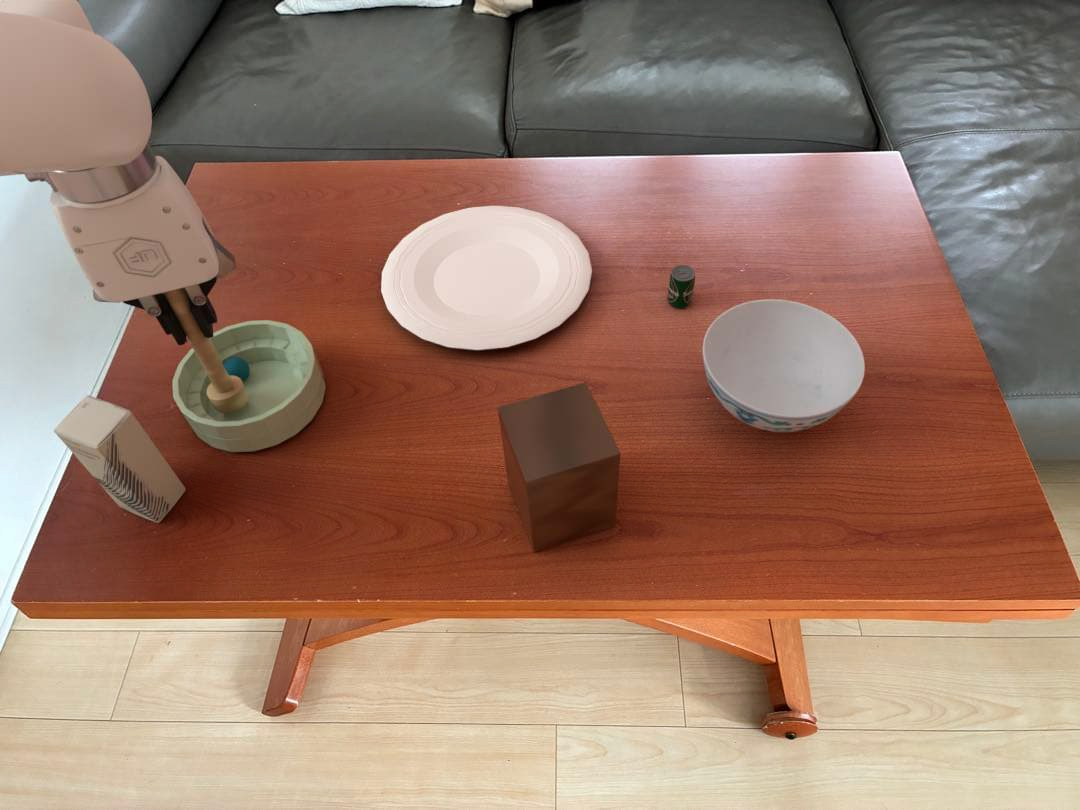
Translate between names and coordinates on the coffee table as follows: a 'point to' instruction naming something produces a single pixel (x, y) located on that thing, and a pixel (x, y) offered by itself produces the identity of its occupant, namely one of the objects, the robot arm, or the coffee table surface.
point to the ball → (237, 368)
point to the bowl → (254, 387)
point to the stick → (208, 358)
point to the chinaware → (781, 364)
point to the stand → (560, 465)
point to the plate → (486, 278)
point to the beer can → (681, 286)
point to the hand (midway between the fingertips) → (195, 330)
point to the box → (121, 457)
